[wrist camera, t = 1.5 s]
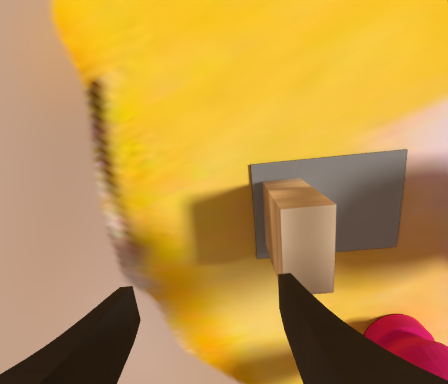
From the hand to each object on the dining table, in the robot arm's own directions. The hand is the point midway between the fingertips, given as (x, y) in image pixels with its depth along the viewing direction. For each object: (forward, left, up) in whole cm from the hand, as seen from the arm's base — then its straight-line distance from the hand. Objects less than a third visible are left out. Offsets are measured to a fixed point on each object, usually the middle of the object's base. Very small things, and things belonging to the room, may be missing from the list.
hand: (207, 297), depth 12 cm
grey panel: (-5, -9, -10) cm, 14 cm away
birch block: (-3, -5, -10) cm, 12 cm away
